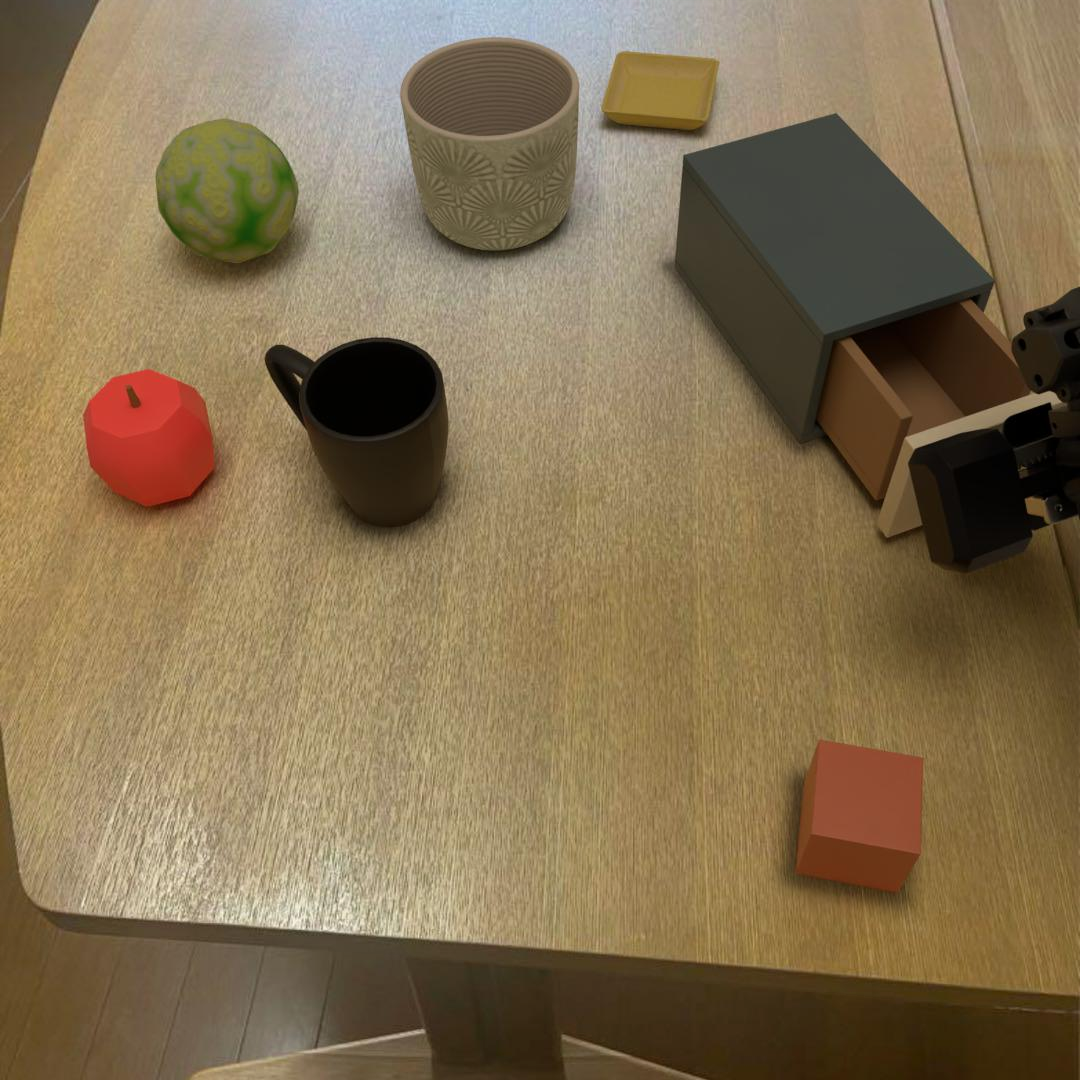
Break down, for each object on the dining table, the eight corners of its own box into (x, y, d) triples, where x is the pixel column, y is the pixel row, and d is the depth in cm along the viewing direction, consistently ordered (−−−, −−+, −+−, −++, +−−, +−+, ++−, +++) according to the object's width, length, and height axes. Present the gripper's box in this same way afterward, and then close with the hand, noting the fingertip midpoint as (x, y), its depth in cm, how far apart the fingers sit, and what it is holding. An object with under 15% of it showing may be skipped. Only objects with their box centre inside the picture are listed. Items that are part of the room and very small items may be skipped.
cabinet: (955, 392, 78) (995, 280, 71) (799, 444, 76) (824, 334, 68) (814, 225, 89) (836, 112, 81) (674, 267, 87) (682, 154, 79)
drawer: (1077, 534, 70) (1125, 447, 64) (924, 591, 68) (959, 507, 62) (882, 304, 82) (907, 212, 76) (748, 346, 80) (762, 256, 74)
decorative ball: (243, 310, 85) (208, 194, 77) (150, 256, 89) (107, 141, 81) (337, 236, 90) (313, 120, 82) (244, 189, 93) (213, 73, 85)
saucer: (706, 142, 95) (708, 119, 94) (599, 132, 97) (599, 109, 95) (718, 81, 100) (720, 58, 99) (617, 72, 102) (617, 49, 100)
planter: (581, 266, 87) (581, 136, 78) (412, 270, 87) (393, 141, 78) (577, 162, 94) (577, 33, 86) (421, 166, 95) (405, 38, 86)
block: (901, 800, 62) (923, 757, 57) (897, 893, 59) (921, 854, 55) (803, 782, 62) (818, 738, 58) (795, 873, 59) (810, 834, 55)
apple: (81, 469, 77) (35, 382, 70) (189, 409, 80) (155, 320, 73) (141, 544, 73) (98, 460, 66) (252, 478, 76) (222, 391, 69)
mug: (340, 401, 80) (314, 293, 72) (484, 478, 75) (472, 371, 68) (256, 480, 76) (219, 374, 68) (402, 566, 71) (380, 463, 64)
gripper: (1352, 222, 52) (1102, 263, 67) (987, 342, 48) (809, 357, 63) (1391, 465, 54) (1139, 452, 69) (1043, 599, 50) (858, 554, 65)
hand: (991, 449), depth 66 cm, fingers closed, pressing on drawer
